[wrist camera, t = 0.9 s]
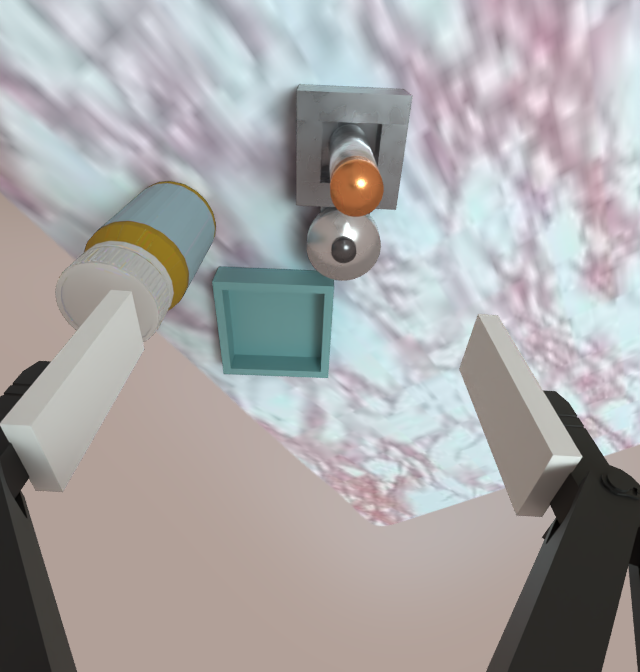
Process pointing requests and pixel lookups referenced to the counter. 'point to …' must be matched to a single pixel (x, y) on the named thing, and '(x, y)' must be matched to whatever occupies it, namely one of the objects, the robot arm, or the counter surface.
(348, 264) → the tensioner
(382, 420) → the counter surface
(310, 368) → the tray
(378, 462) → the counter surface
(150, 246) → the bottle
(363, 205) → the pin
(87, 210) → the counter surface
